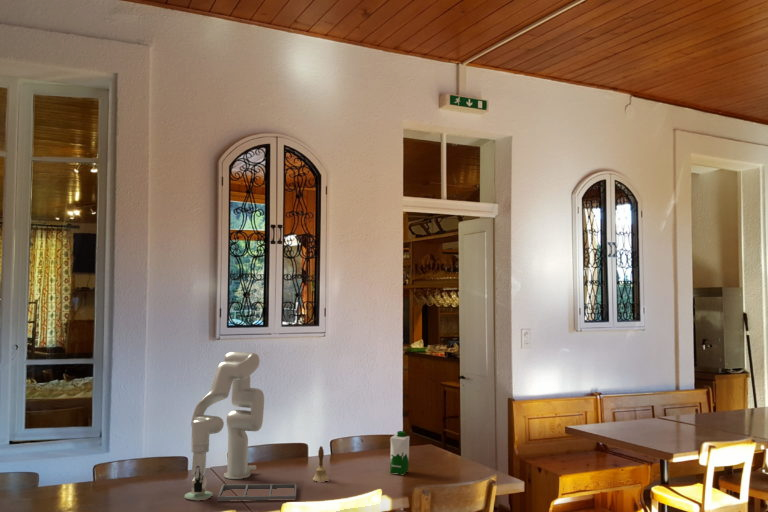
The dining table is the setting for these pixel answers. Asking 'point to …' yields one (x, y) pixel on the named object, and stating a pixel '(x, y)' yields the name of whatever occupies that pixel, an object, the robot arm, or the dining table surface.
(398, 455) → the milk carton
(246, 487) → the organiser
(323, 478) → the hand bell
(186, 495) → the mat
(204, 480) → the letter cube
